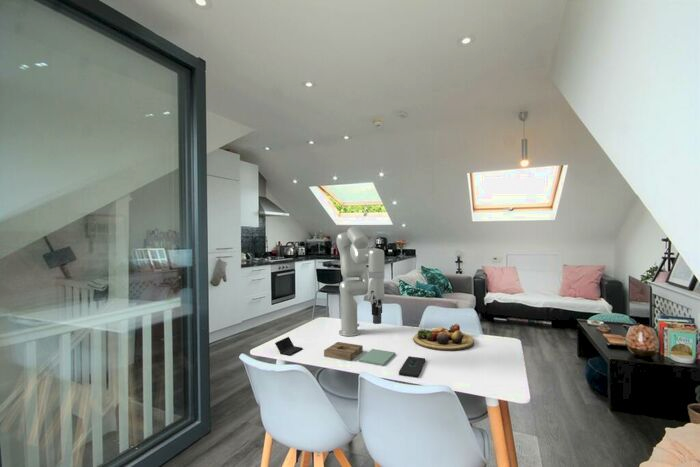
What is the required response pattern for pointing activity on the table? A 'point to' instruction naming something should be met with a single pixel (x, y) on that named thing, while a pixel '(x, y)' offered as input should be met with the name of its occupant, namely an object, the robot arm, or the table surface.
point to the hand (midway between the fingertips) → (377, 313)
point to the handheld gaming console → (287, 347)
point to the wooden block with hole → (343, 351)
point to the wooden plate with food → (444, 339)
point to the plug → (377, 318)
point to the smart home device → (412, 367)
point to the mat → (377, 357)
